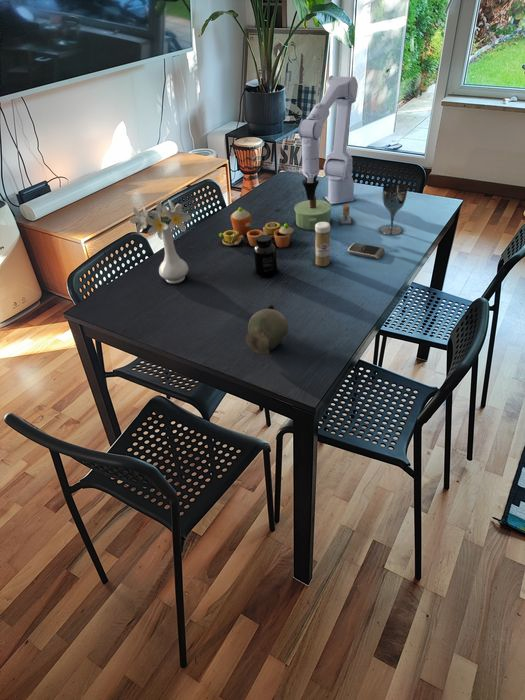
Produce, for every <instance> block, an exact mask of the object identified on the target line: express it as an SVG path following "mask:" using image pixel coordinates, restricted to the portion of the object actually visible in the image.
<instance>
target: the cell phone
mask: <svg viewBox="0 0 525 700" xmlns="http://www.w3.org/2000/svg"><path fill="white" fill-rule="evenodd" d="M347 253H348V254H349V255H354V256H359V257H365V258H368V259H369V258H370V259H374V260H378V259H380V258H381V257H383V255H384V253H385V248H384V247H381V246H375V245H370V244H365V243H359V242H354V243H352V244H351V245H350V247H348V249H347Z"/></svg>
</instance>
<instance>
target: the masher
mask: <svg viewBox="0 0 525 700" xmlns="http://www.w3.org/2000/svg"><path fill="white" fill-rule="evenodd" d="M350 208H351V207H350V205H349V204H343V205H342V216H340V225H352V218H351V216H350V213H351V212H350V210H351V209H350Z"/></svg>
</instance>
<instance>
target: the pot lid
mask: <svg viewBox="0 0 525 700" xmlns="http://www.w3.org/2000/svg"><path fill="white" fill-rule="evenodd" d="M332 207H333V205H332V204H331V203H330V202H329V201H326V200H321V199H317V196H316V195H315V197H314V200H308V199H307V200H302V201H300V202H297V203H295V205H294V209H293V210H294V212H295V214H296V213H298V214H301V215H305V216H319V215H323V214H326V213H328V212H329V211H330V212H331V210H332Z"/></svg>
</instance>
